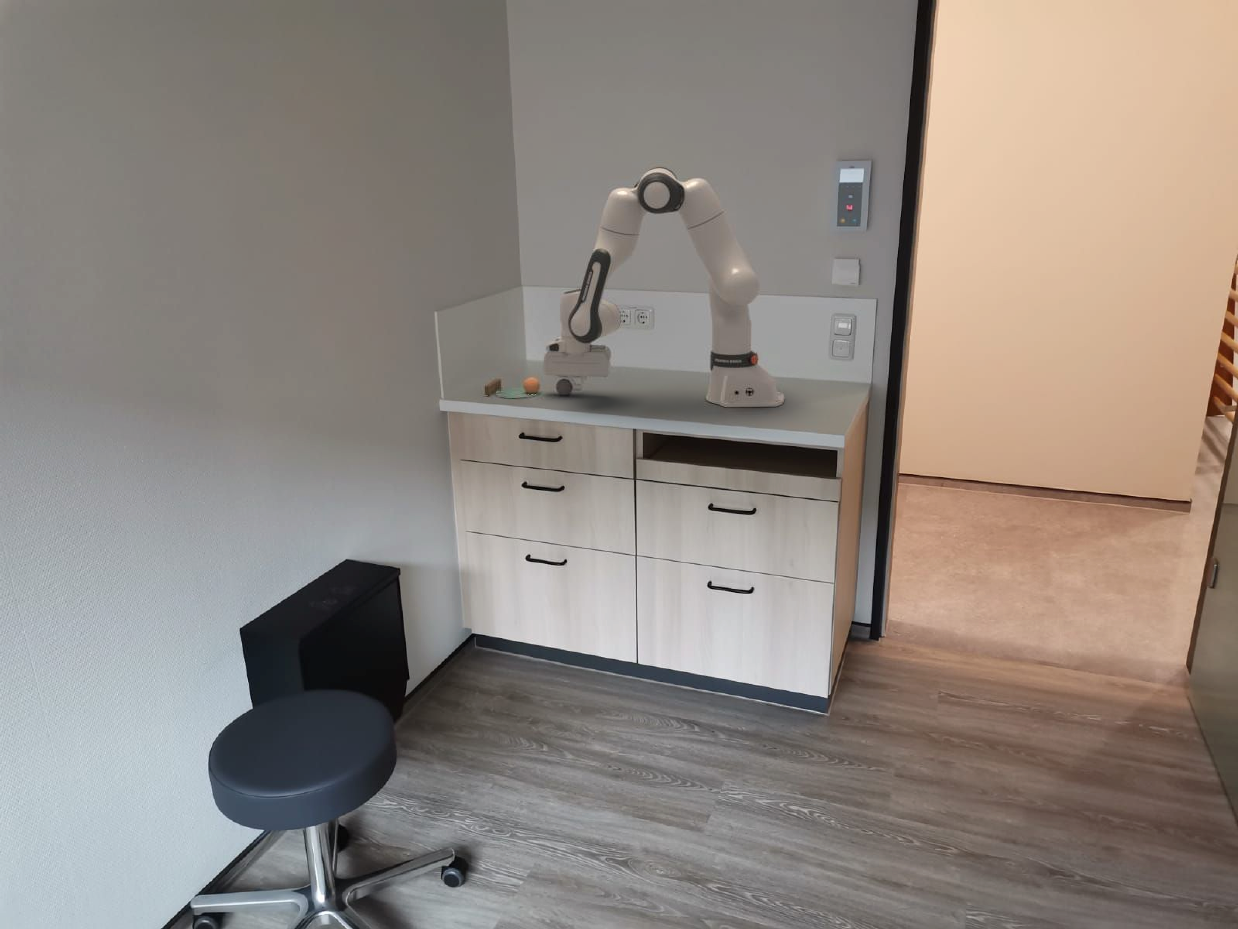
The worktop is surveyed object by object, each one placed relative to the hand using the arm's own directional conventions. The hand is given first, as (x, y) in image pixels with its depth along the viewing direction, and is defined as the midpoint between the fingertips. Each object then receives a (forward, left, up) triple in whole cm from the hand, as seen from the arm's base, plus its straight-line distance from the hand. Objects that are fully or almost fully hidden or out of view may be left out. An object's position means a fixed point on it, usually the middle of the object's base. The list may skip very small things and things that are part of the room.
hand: (577, 390), depth 274 cm
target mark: (+19, 0, -2) cm, 19 cm away
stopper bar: (+27, 0, -2) cm, 27 cm away
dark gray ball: (+4, 0, +1) cm, 4 cm away
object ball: (+14, 0, +1) cm, 15 cm away
